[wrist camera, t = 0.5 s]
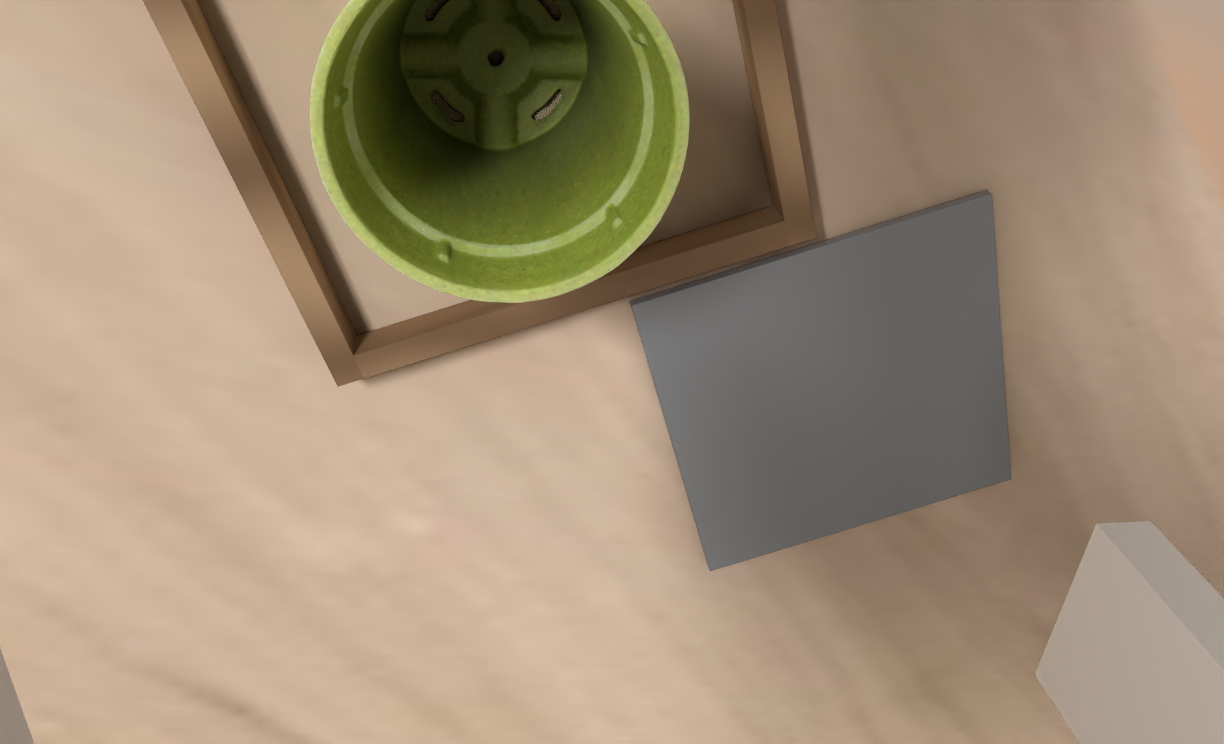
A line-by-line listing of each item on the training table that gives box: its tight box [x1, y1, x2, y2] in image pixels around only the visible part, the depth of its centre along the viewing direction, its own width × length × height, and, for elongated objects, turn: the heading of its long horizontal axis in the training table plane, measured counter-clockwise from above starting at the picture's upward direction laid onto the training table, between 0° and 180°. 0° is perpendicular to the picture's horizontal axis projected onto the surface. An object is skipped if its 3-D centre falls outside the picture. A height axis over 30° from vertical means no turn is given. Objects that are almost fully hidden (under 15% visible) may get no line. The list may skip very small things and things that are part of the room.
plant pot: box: [310, 0, 689, 303], centre depth 28 cm, size 9×9×9 cm
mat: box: [630, 190, 1011, 571], centre depth 40 cm, size 14×14×1 cm
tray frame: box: [143, 0, 816, 386], centre depth 31 cm, size 18×18×2 cm
